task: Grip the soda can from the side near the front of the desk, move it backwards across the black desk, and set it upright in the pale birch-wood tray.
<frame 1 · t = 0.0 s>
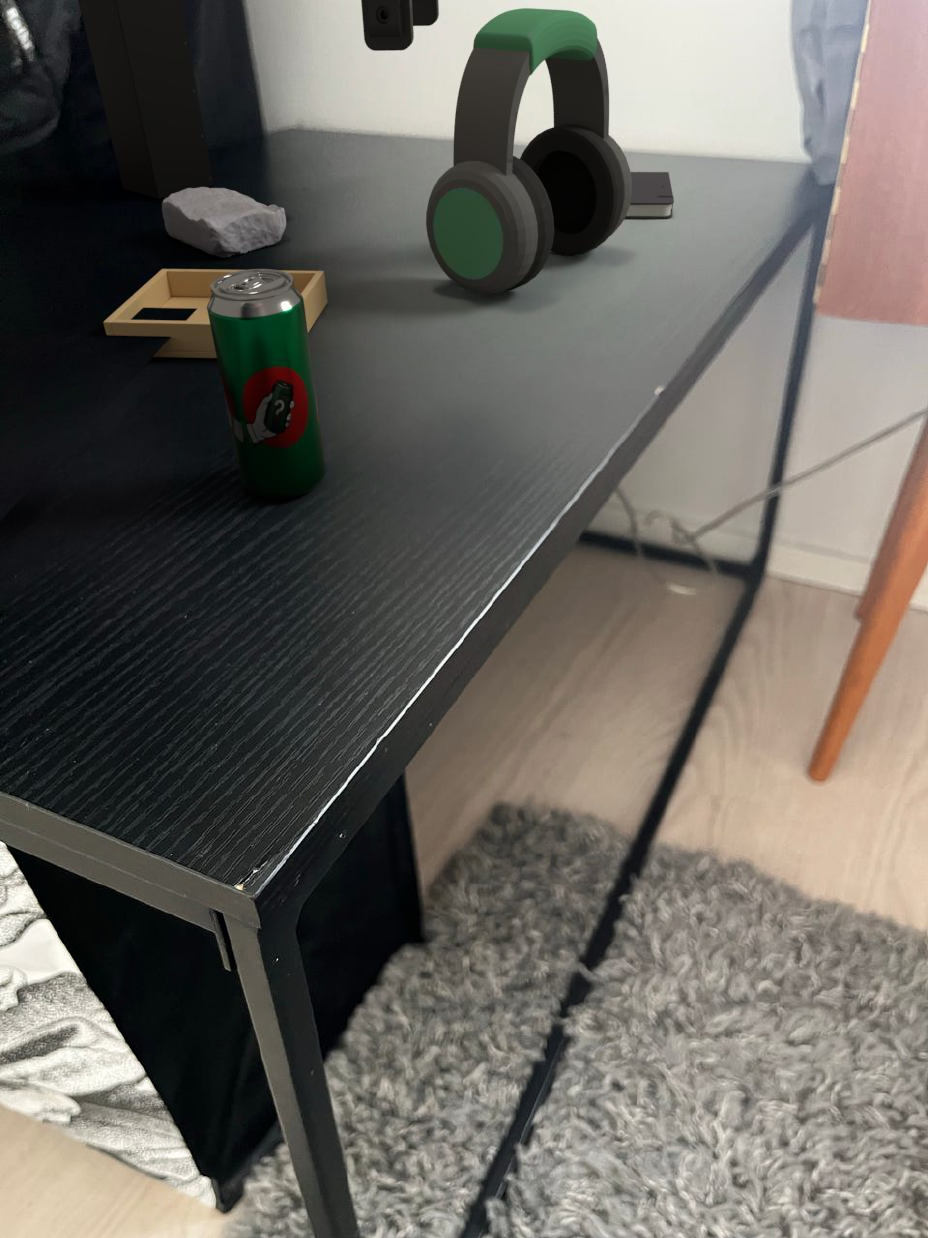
hand: (404, 36, 47), 22 cm above the table, tool pointing down, fingers open, 8 cm apart
headphones: (531, 272, 86), on the table
tall black block: (169, 189, 112), on the table
stone block: (233, 239, 96), on the table
notebook: (571, 203, 103), on the table
soda can: (285, 485, 57), on the table
tray: (225, 327, 76), on the table
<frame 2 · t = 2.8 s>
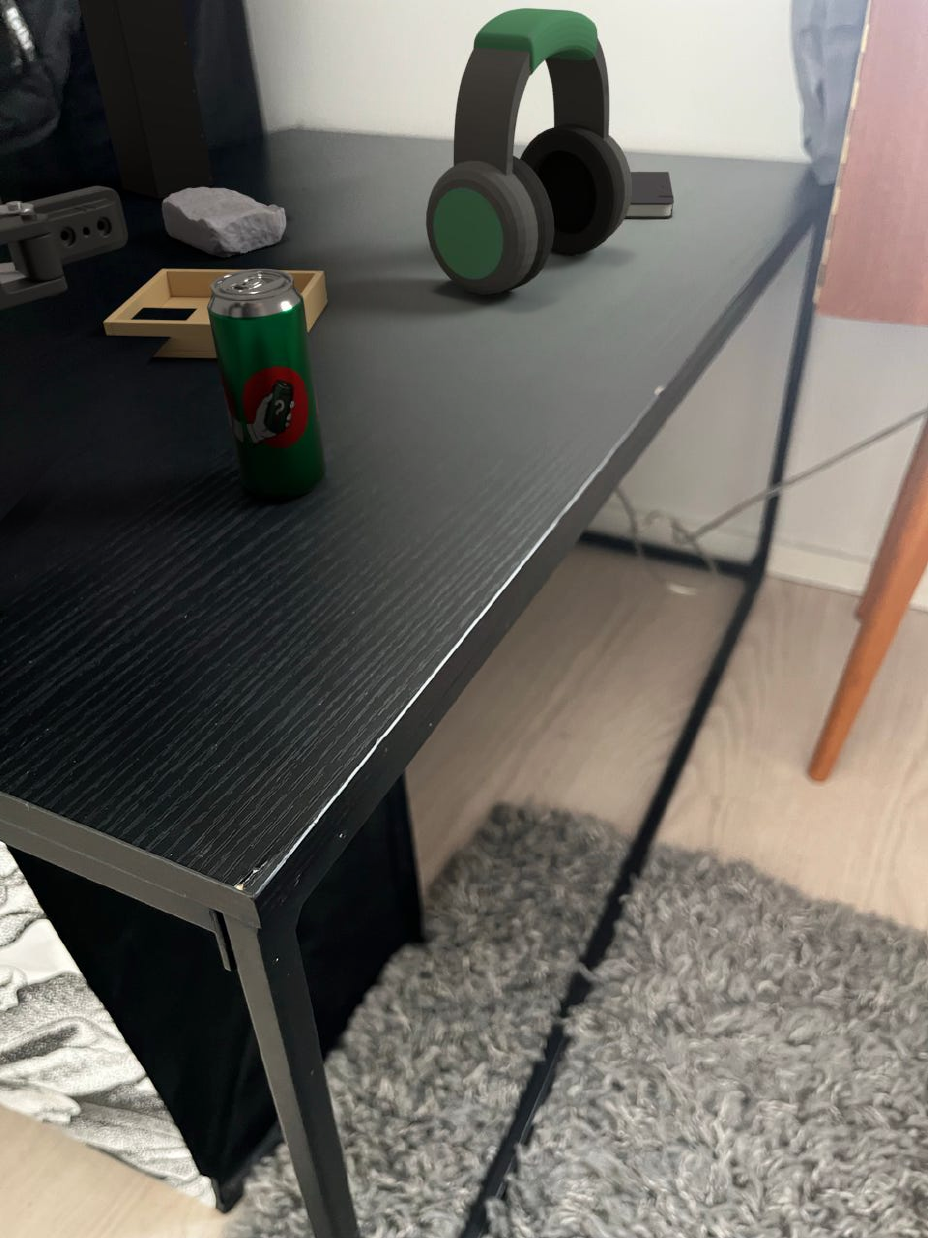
hand: (52, 201, 39), 18 cm above the table, tool horizontal, fingers open, 8 cm apart
nothing on the table moved.
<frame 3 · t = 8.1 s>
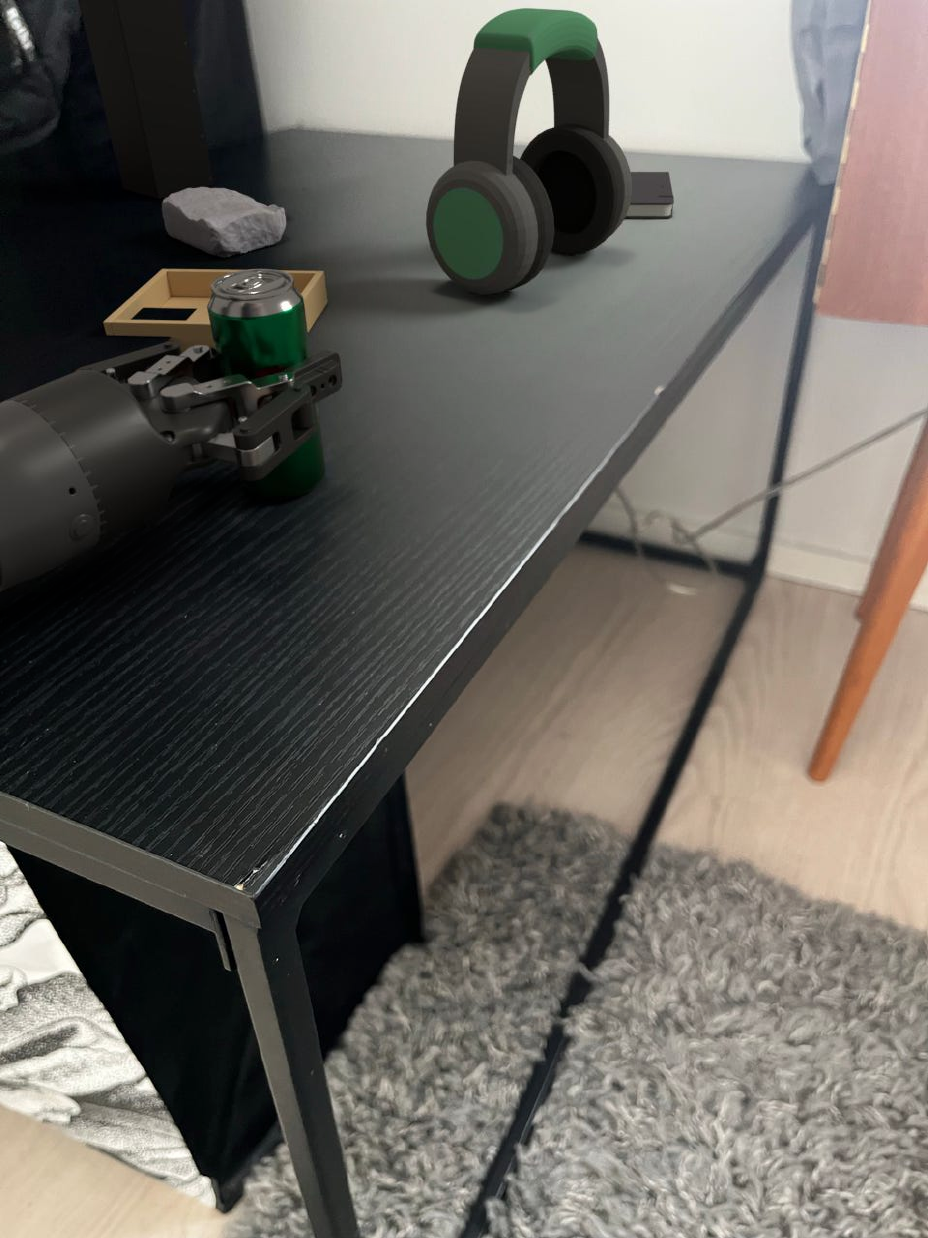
hand: (298, 356, 54), 7 cm above the table, tool horizontal, fingers closed on soda can, 5 cm apart
soda can: (285, 485, 57), on the table, touching gripper
everything else where it was.
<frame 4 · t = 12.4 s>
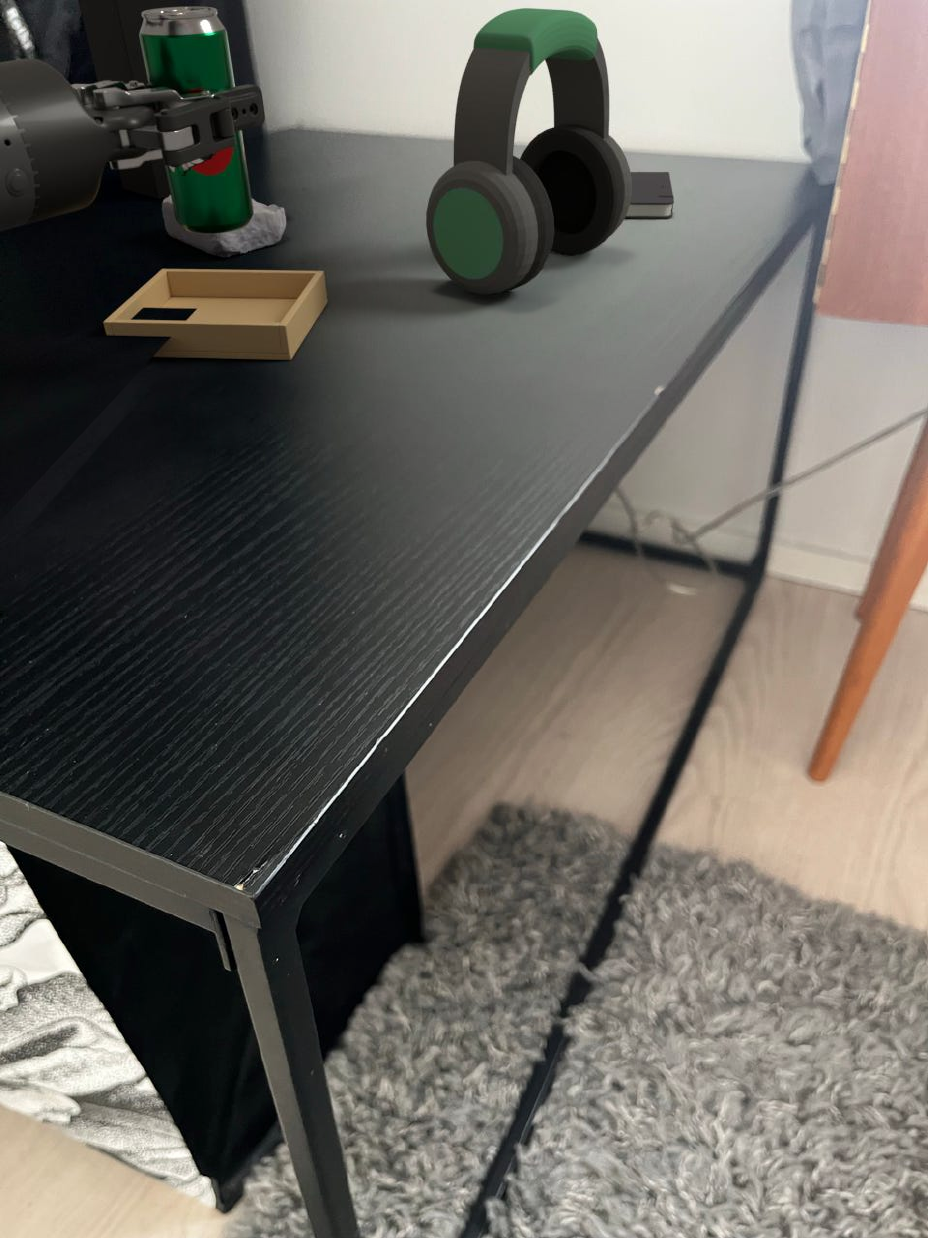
hand: (227, 99, 59), 18 cm above the table, tool horizontal, fingers closed on soda can, 5 cm apart
soda can: (217, 228, 62), point 10 cm above the table, touching gripper
everything else where it was.
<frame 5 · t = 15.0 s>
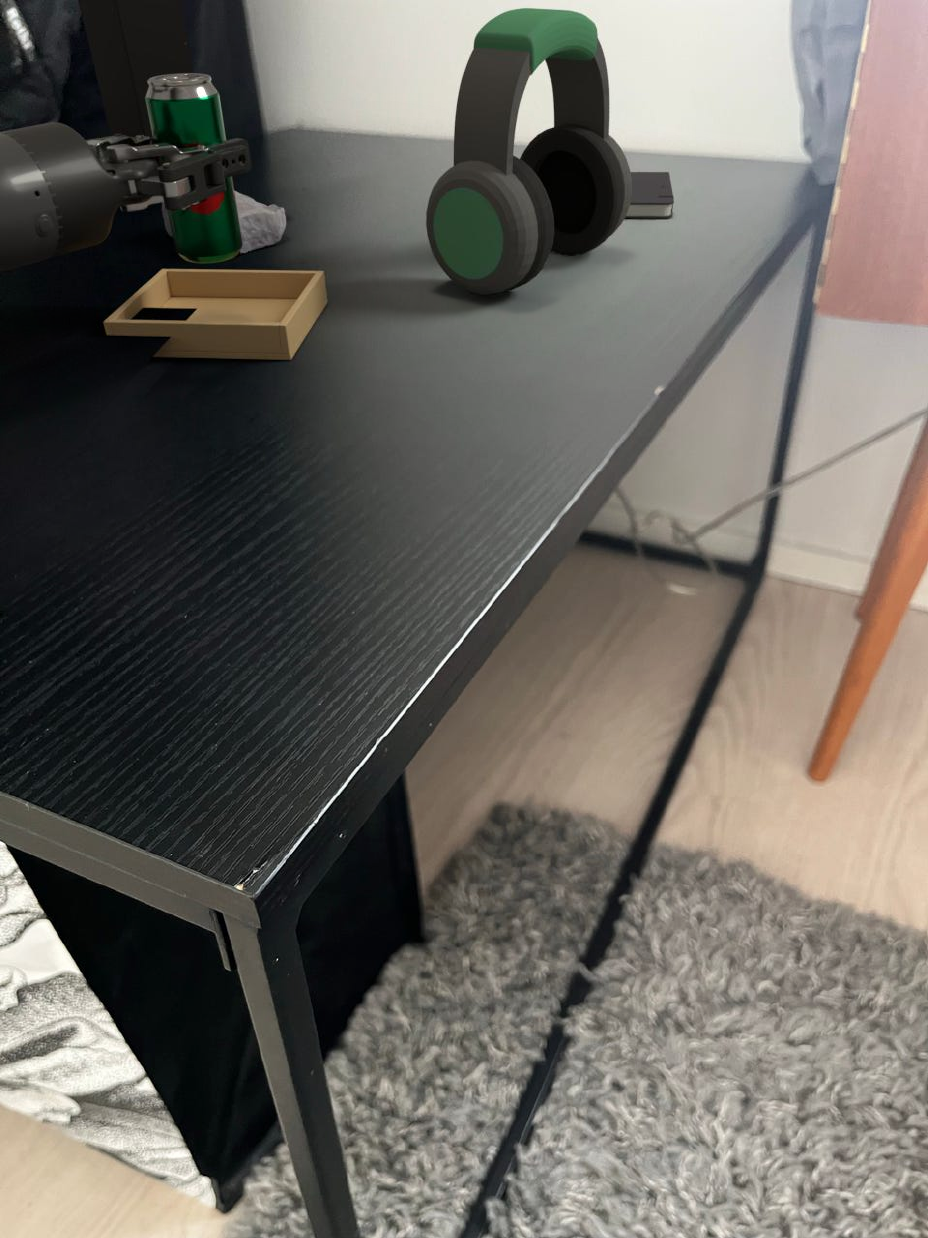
hand: (219, 149, 70), 13 cm above the table, tool horizontal, fingers closed on soda can, 5 cm apart
soda can: (211, 257, 73), point 6 cm above the table, touching gripper
everything else where it was.
when the fingers open (8 cm above the table, at t = 17.0 s): soda can stays where it is, resting on tray.
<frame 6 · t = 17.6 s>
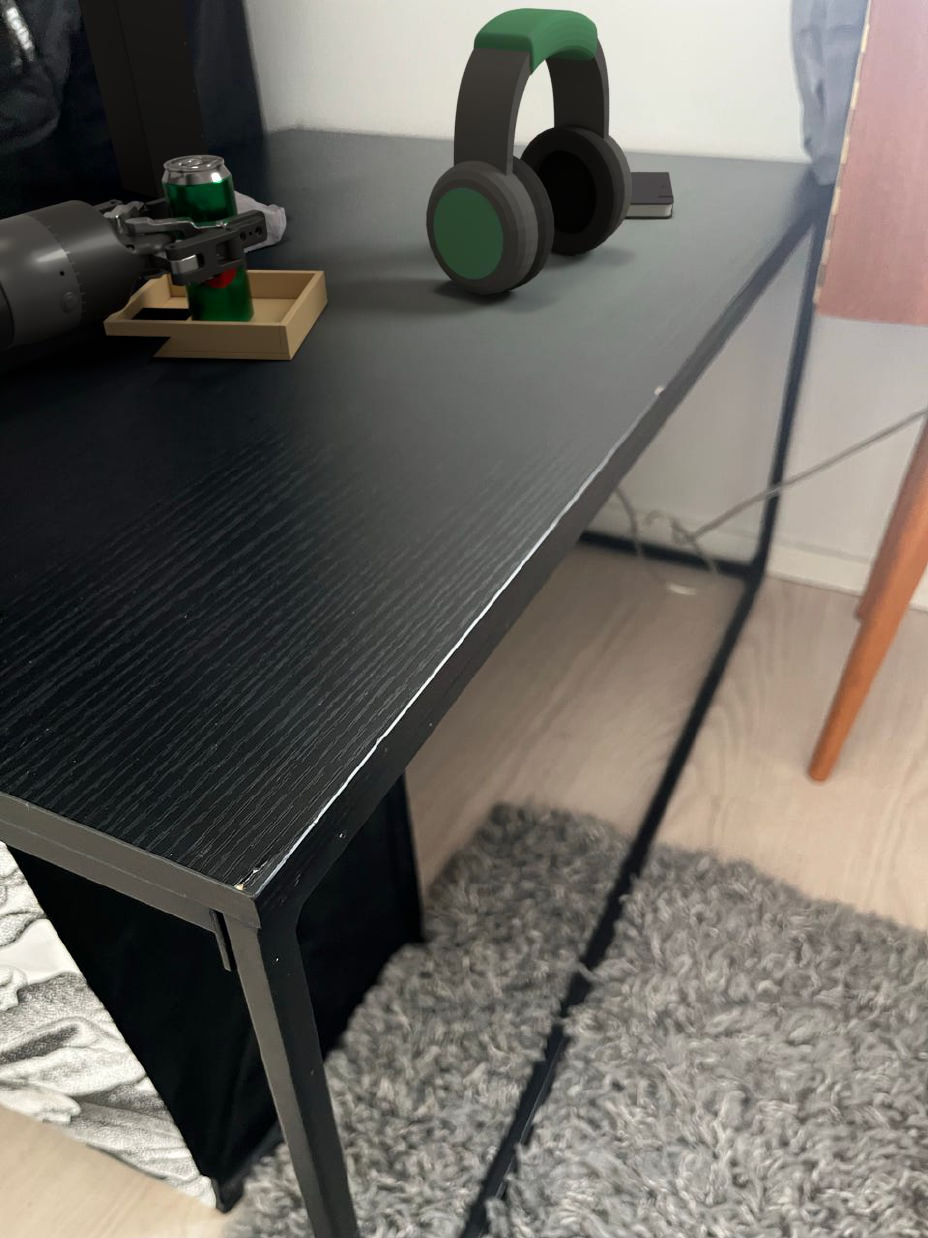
hand: (224, 215, 72), 8 cm above the table, tool horizontal, fingers open, 8 cm apart
soda can: (224, 324, 76), resting on tray
everything else where it was.
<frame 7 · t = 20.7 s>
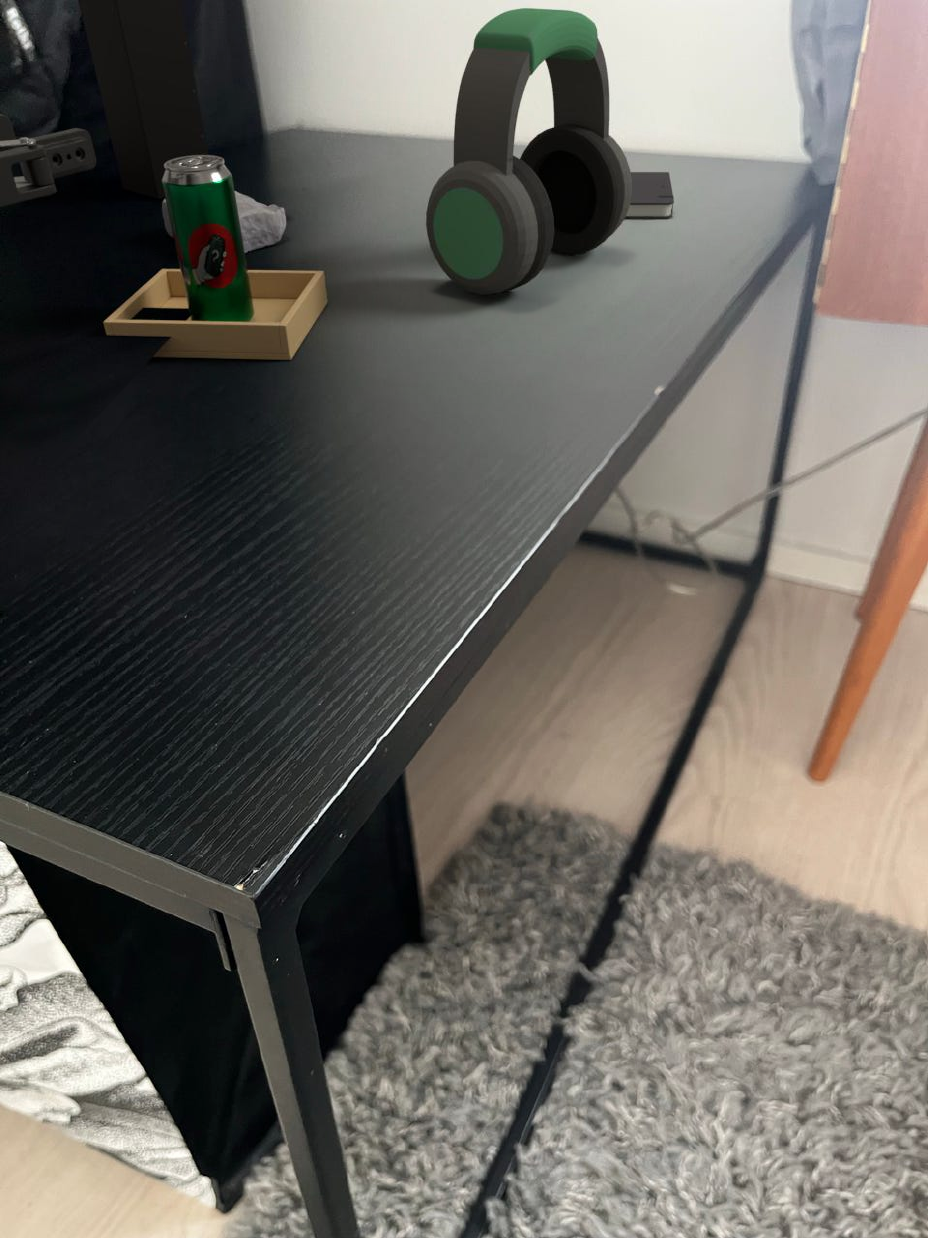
hand: (48, 138, 60), 16 cm above the table, tool horizontal, fingers open, 8 cm apart
nothing on the table moved.
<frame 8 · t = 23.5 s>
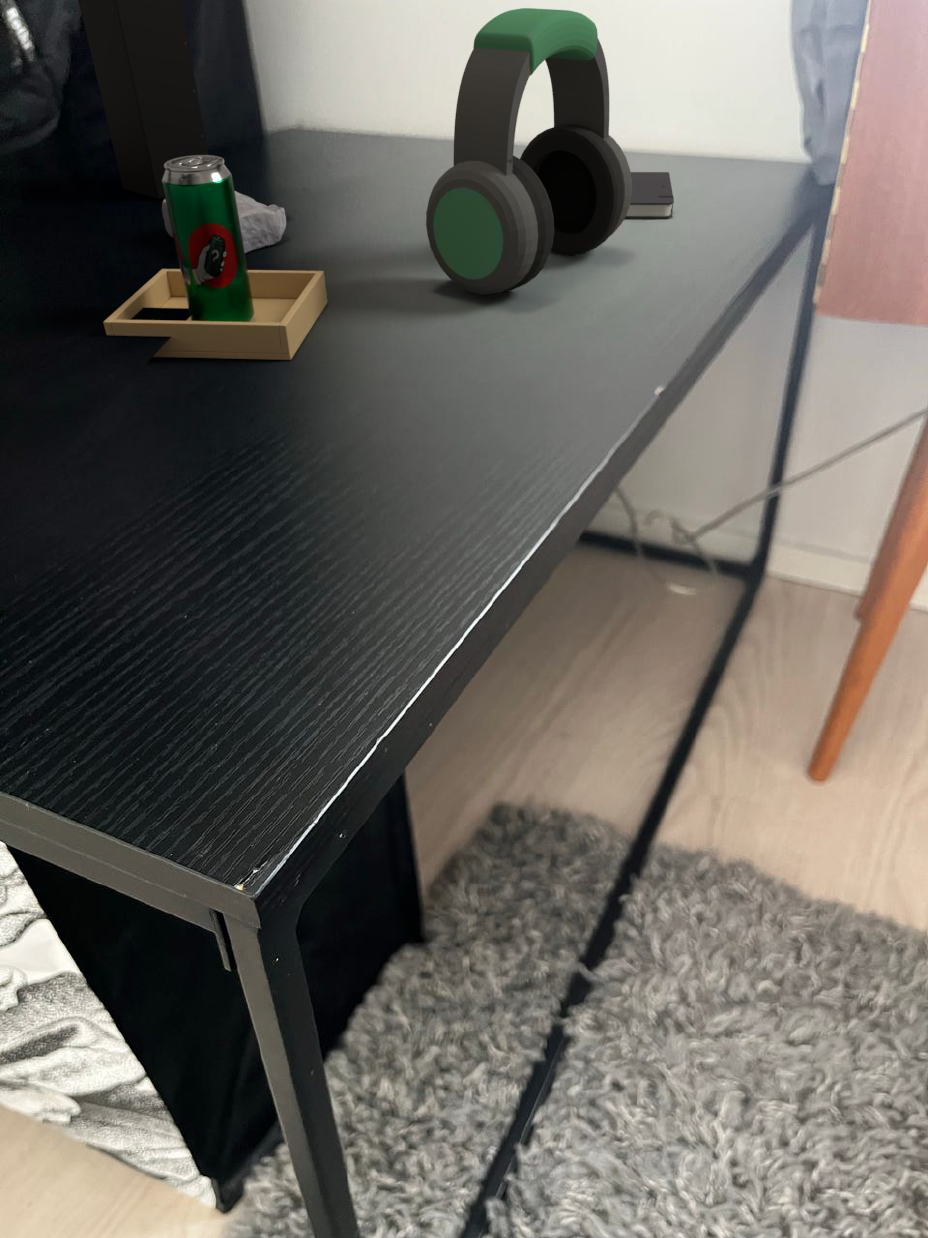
nothing on the table moved.
at the end: soda can inside the target area in the tray (0.2 cm from its centre), point 0.3 cm above the tray's base; soda can tilted 0°; the gripper is holding nothing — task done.
